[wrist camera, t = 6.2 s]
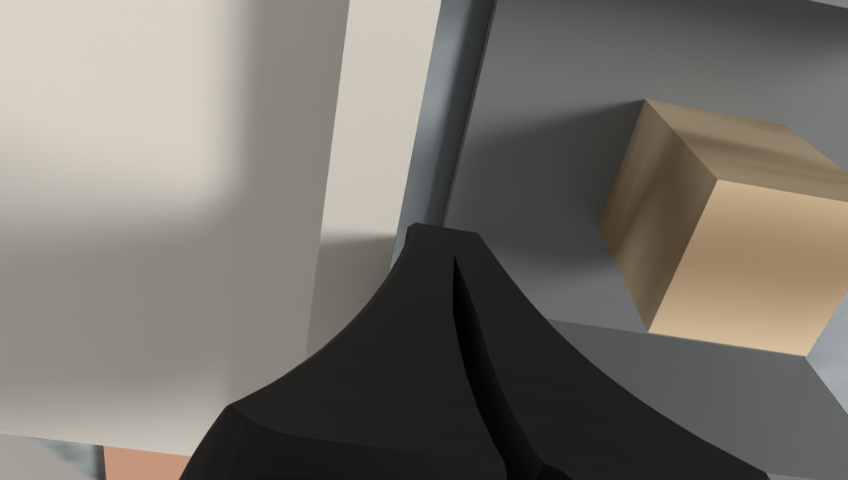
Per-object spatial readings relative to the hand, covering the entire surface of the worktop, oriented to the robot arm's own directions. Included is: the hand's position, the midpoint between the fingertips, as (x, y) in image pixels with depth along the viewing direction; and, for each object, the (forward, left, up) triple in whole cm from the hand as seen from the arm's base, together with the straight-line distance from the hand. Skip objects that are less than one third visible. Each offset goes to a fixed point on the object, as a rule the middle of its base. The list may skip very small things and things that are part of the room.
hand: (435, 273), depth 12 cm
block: (0, -8, -7) cm, 10 cm away
